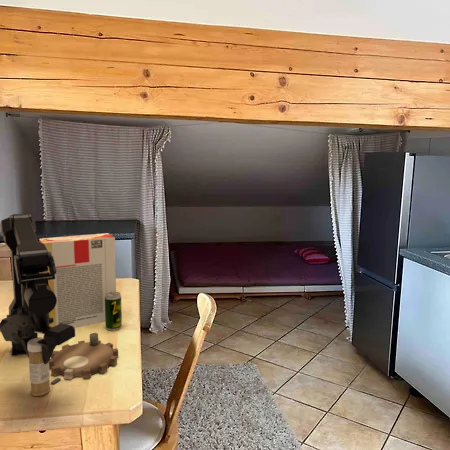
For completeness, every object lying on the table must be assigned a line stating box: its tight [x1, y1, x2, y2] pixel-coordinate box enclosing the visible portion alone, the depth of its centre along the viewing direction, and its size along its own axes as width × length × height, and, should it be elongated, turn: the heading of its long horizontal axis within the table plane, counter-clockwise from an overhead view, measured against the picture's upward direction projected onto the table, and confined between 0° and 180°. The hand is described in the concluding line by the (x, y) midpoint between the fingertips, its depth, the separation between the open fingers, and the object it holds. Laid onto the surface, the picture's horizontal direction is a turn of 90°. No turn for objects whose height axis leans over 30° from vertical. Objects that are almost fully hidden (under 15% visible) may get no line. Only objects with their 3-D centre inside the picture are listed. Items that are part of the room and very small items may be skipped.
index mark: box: [50, 377, 62, 386], centre depth 107 cm, size 2×1×1 cm, turn 161°
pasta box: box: [38, 232, 117, 329], centre depth 142 cm, size 23×8×30 cm, turn 122°
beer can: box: [104, 291, 123, 332], centre depth 140 cm, size 5×5×12 cm
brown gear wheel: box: [49, 332, 119, 380], centre depth 117 cm, size 19×19×5 cm
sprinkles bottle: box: [27, 336, 51, 397], centre depth 101 cm, size 5×5×13 cm
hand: (38, 361), depth 101 cm, fingers closed on sprinkles bottle, 4 cm apart
